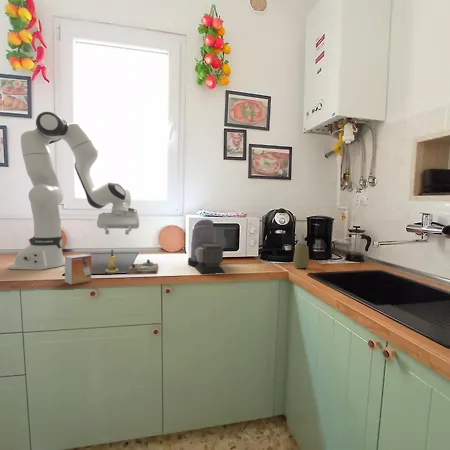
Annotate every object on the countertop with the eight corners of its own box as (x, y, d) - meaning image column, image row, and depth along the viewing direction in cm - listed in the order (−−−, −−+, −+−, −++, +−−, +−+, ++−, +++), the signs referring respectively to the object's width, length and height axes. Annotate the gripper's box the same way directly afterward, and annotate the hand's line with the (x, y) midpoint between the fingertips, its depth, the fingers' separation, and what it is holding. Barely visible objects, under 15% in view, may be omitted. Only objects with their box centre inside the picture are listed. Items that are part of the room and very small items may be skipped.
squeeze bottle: (311, 268, 149) (313, 234, 148) (304, 270, 144) (306, 235, 142) (297, 265, 155) (299, 233, 154) (290, 267, 149) (291, 234, 148)
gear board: (126, 274, 126) (126, 265, 126) (131, 266, 141) (131, 258, 141) (156, 273, 129) (156, 265, 129) (157, 266, 144) (157, 258, 143)
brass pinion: (104, 273, 126) (104, 251, 125) (106, 270, 131) (106, 249, 131) (117, 273, 127) (117, 251, 126) (119, 270, 133) (119, 249, 132)
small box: (71, 285, 108) (70, 258, 107) (64, 282, 111) (64, 256, 110) (91, 281, 114) (91, 255, 113) (85, 278, 118) (84, 253, 117)
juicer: (185, 261, 157) (186, 217, 155) (212, 260, 162) (213, 218, 160) (196, 274, 129) (198, 221, 127) (229, 273, 134) (231, 221, 132)
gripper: (98, 208, 144) (93, 229, 136) (139, 209, 148) (137, 229, 140) (100, 216, 149) (95, 237, 140) (140, 217, 153) (138, 237, 144)
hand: (117, 233), depth 140 cm, fingers open, 8 cm apart
